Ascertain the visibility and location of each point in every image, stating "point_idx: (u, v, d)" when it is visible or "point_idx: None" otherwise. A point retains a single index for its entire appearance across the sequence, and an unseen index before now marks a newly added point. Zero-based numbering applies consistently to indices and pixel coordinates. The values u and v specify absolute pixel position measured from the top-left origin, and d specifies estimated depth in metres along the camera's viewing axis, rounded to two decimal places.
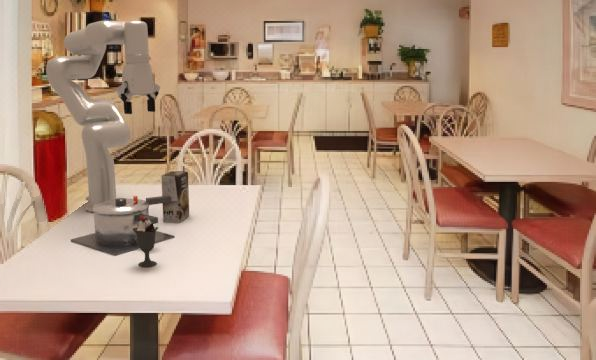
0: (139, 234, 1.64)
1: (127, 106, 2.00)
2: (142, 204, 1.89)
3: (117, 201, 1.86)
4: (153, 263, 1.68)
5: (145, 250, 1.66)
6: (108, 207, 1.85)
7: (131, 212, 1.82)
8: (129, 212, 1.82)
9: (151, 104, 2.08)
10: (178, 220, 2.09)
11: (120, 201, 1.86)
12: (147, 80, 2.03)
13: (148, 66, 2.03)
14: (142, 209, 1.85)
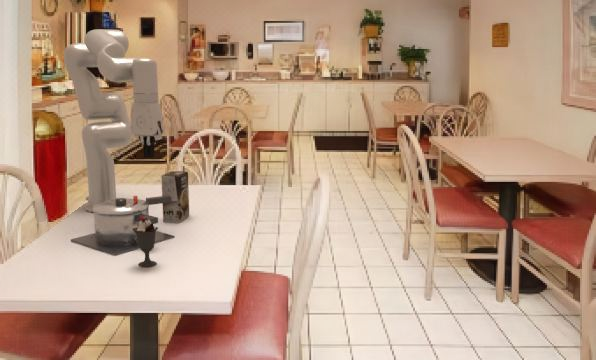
0: (139, 234, 1.64)
1: None
2: (142, 204, 1.89)
3: (117, 201, 1.86)
4: (153, 263, 1.68)
5: (145, 250, 1.66)
6: (108, 207, 1.85)
7: (131, 212, 1.82)
8: (129, 212, 1.82)
9: None
10: (178, 220, 2.09)
11: (120, 201, 1.86)
12: None
13: None
14: (142, 209, 1.85)
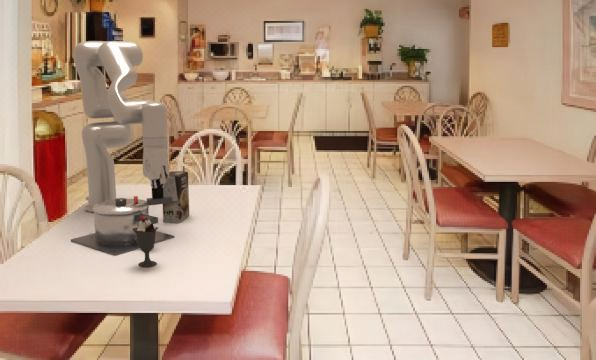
0: (139, 234, 1.64)
1: None
2: (142, 204, 1.88)
3: (117, 201, 1.87)
4: (153, 263, 1.68)
5: (145, 250, 1.66)
6: (107, 207, 1.86)
7: (129, 212, 1.82)
8: (127, 212, 1.81)
9: None
10: (178, 220, 2.09)
11: (120, 201, 1.86)
12: None
13: None
14: (140, 209, 1.84)
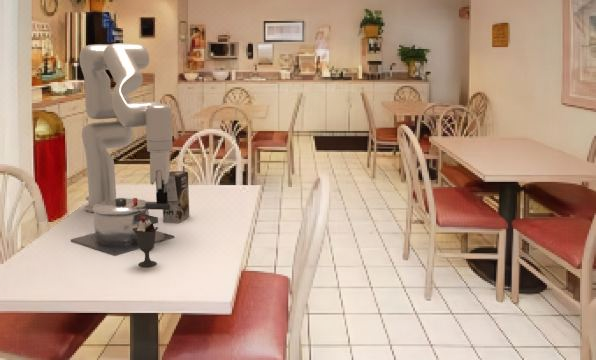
0: (139, 234, 1.64)
1: (163, 197, 1.88)
2: (136, 207, 1.85)
3: (115, 201, 1.87)
4: (153, 263, 1.68)
5: (145, 250, 1.66)
6: (106, 205, 1.88)
7: (113, 213, 1.80)
8: (111, 213, 1.80)
9: None
10: (178, 220, 2.09)
11: (117, 201, 1.86)
12: None
13: None
14: (127, 212, 1.81)
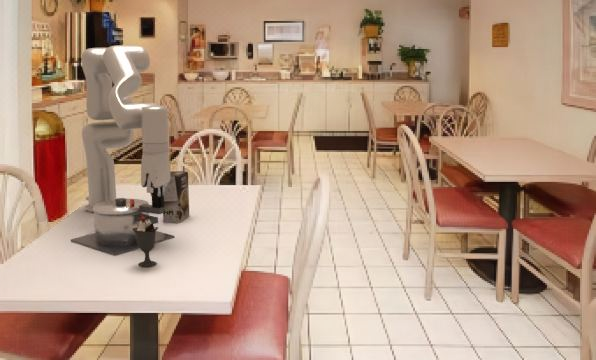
0: (139, 234, 1.64)
1: (158, 201, 1.84)
2: (129, 209, 1.83)
3: (115, 200, 1.88)
4: (153, 263, 1.68)
5: (145, 250, 1.66)
6: (108, 204, 1.89)
7: (103, 213, 1.81)
8: (102, 212, 1.81)
9: None
10: (178, 220, 2.09)
11: (116, 201, 1.87)
12: (166, 169, 1.84)
13: (167, 153, 1.84)
14: (116, 213, 1.80)
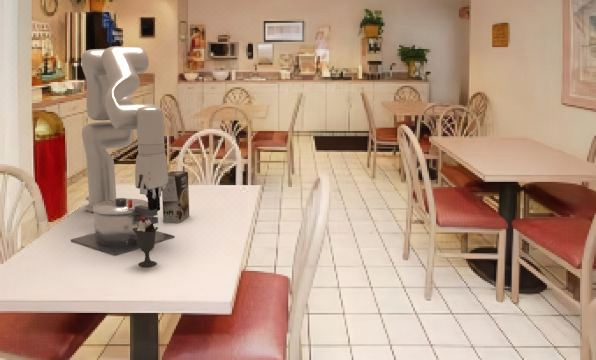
0: (139, 234, 1.64)
1: (153, 203, 1.81)
2: (126, 209, 1.83)
3: None
4: (153, 263, 1.68)
5: (145, 250, 1.66)
6: (109, 203, 1.90)
7: (100, 212, 1.81)
8: (98, 212, 1.82)
9: None
10: (178, 220, 2.09)
11: (115, 200, 1.87)
12: (162, 171, 1.81)
13: (163, 155, 1.81)
14: (111, 213, 1.80)
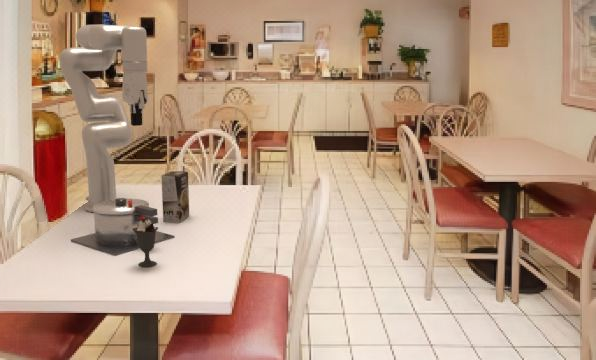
0: (139, 234, 1.64)
1: None
2: (126, 209, 1.83)
3: None
4: (153, 263, 1.68)
5: (145, 250, 1.66)
6: (109, 203, 1.90)
7: (99, 212, 1.81)
8: (98, 212, 1.82)
9: None
10: (178, 220, 2.09)
11: (115, 200, 1.87)
12: None
13: None
14: (111, 213, 1.80)
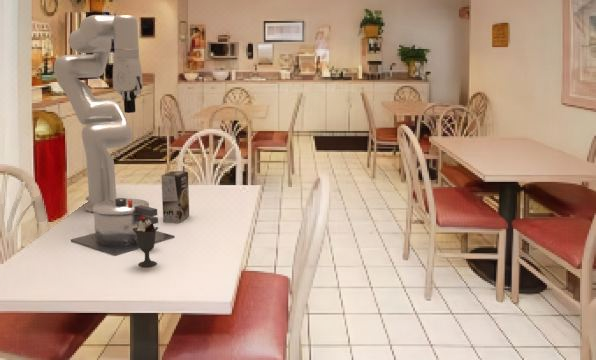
0: (139, 234, 1.64)
1: None
2: (126, 209, 1.83)
3: None
4: (153, 263, 1.68)
5: (145, 250, 1.66)
6: (109, 203, 1.90)
7: (99, 212, 1.81)
8: (98, 212, 1.82)
9: None
10: (178, 220, 2.09)
11: (115, 200, 1.87)
12: None
13: None
14: (111, 213, 1.80)
